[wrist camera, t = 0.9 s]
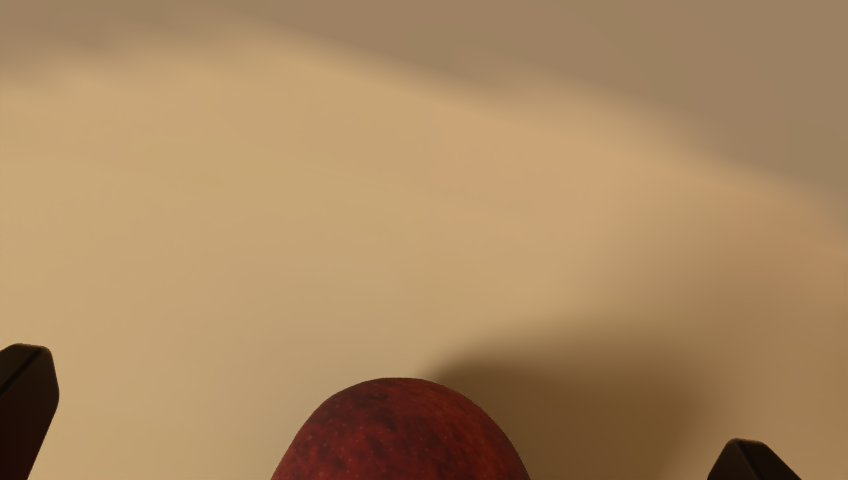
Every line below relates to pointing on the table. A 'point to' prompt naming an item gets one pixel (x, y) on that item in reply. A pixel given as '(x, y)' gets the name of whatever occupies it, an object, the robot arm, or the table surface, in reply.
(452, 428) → the apple
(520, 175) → the table surface
